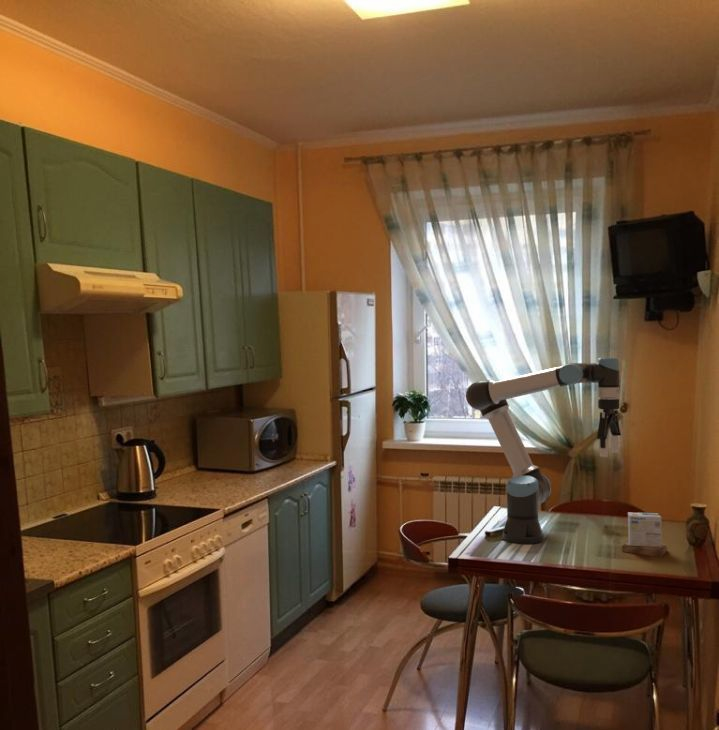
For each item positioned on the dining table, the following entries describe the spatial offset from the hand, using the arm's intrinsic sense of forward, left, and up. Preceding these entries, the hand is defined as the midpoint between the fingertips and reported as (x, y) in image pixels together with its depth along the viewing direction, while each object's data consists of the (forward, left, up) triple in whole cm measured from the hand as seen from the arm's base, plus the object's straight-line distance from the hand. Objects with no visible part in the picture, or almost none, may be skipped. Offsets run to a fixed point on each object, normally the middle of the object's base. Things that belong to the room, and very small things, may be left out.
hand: (609, 454), depth 250 cm
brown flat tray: (+14, -7, -33) cm, 36 cm away
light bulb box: (+14, -7, -30) cm, 34 cm away
